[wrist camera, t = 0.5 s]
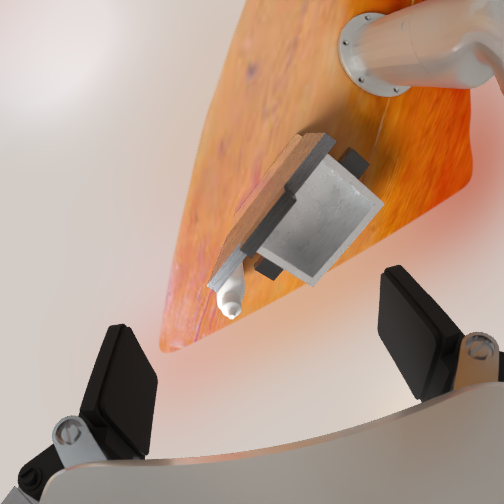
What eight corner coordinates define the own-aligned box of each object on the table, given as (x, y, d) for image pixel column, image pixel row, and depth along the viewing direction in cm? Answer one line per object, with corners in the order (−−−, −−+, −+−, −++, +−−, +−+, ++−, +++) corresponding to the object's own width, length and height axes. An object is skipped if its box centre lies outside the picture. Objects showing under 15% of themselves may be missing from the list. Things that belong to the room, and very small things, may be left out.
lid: (313, 138, 32) (305, 132, 32) (343, 142, 18) (331, 132, 18) (234, 240, 37) (227, 235, 36) (213, 305, 23) (201, 298, 23)
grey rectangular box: (307, 119, 38) (326, 124, 31) (369, 173, 42) (396, 189, 35) (224, 228, 44) (224, 255, 37) (290, 269, 48) (301, 299, 41)
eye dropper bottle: (253, 263, 47) (262, 313, 36) (227, 286, 49) (228, 339, 38) (232, 244, 45) (235, 292, 35) (205, 269, 47) (202, 320, 36)
